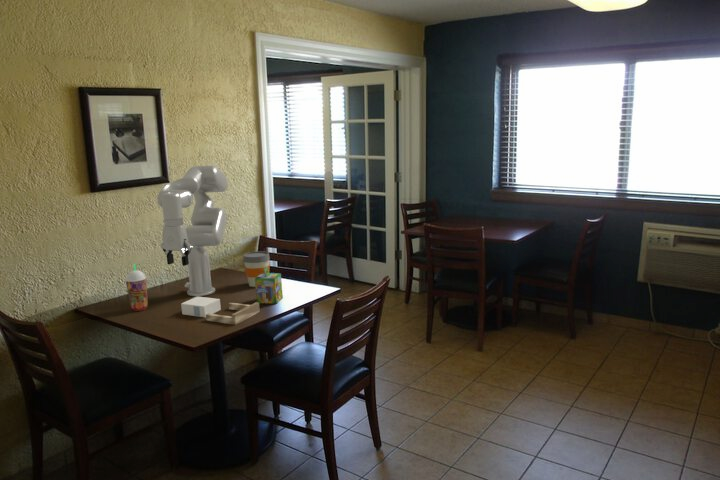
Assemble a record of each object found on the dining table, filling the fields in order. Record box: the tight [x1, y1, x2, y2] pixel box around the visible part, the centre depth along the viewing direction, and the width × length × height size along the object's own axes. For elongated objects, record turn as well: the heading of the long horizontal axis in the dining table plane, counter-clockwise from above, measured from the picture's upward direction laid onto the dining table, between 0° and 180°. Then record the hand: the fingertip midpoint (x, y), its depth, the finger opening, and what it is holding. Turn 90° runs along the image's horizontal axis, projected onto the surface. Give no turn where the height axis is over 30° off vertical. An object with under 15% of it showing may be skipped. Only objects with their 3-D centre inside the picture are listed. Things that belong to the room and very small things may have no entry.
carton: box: [180, 296, 222, 318], centre depth 239 cm, size 12×10×5 cm
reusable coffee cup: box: [242, 250, 271, 288], centre depth 276 cm, size 13×13×15 cm
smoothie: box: [125, 263, 149, 312], centre depth 244 cm, size 8×8×20 cm
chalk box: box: [255, 267, 284, 305], centre depth 250 cm, size 9×9×15 cm
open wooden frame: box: [205, 301, 261, 325], centre depth 233 cm, size 14×16×4 cm
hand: (178, 264), depth 240 cm, fingers open, 7 cm apart
